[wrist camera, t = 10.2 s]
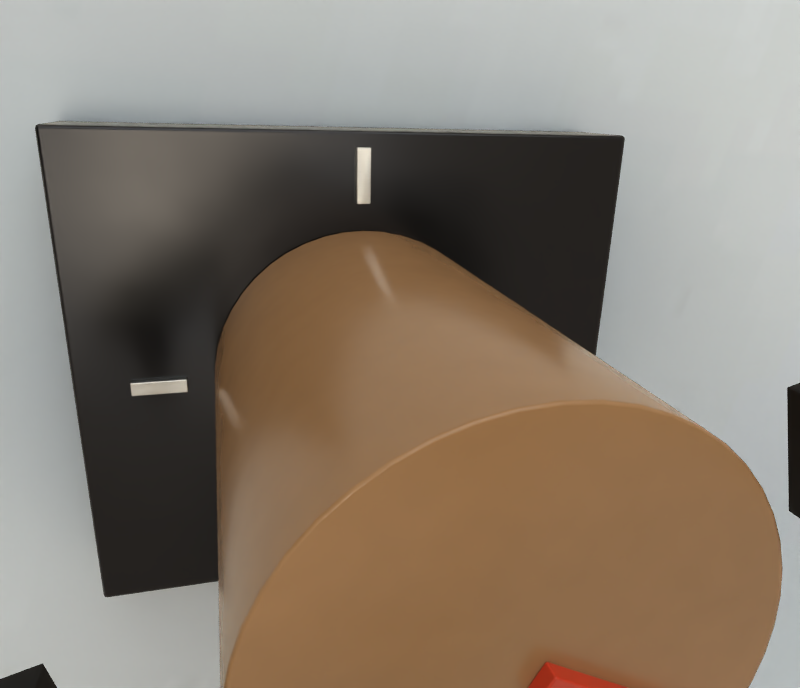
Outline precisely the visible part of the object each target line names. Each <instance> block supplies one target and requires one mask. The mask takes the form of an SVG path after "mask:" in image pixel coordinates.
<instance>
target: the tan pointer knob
mask: <svg viewBox="0 0 800 688" xmlns="http://www.w3.org/2000/svg"><path fill="white" fill-rule="evenodd" d="M215 413H216V470H217V526H218V583H219V639H220V688H748V687H749V685H750V684H751V682H752V680H753V678H754V676H755V674H756V672H757V670H758V667H759V665H760V663H761V661H762V659H763V656H764V654H765V652H766V649H767V646H768V643H769V640H770V637H771V634H772V631H773V628H774V625H775V620H776V616H777V611H778V606H779V601H780V595H781V581H782V557H781V544H780V538H779V534H778V529H777V525H776V521H775V517H774V514H773V511H772V509H771V507H770V504H769V502H768V500H767V497H766V495H765V493H764V491H763V488H762V487H761V485H760V484H759V482H758V481H757V479H756V478H755V476H754V475H753V473H752V472H751V470H750V469H749V467H748V466H747V464H746V463H745V462H744V461H743V460H742V459H741V458H740V457H739V456H738V455H737V454H736V453H735V452H734V451H733V450H732V449H731V448H730V447H729V446H728V445H727V444H726V443H724V442H723V441H722V440H720V439H719V438H717V437H716V436H714V435H713V434H711V433H710V432H709V431H707V430H706V429H704V428H703V427H701V426H700V425H698V424H697V423H695V422H694V421H692V420H691V419H689V418H688V417H686V416H685V415H683V414H682V413H680V412H679V411H677V410H676V409H674V408H673V407H671V406H670V405H668V404H667V403H665V402H664V401H662V400H661V399H659V398H658V397H656V396H655V395H653V394H652V393H650V392H649V391H647V390H646V389H644V388H643V387H641V386H640V385H638V384H637V383H635V382H634V381H632V380H631V379H629V378H628V377H626V376H625V375H623V374H622V373H620V372H619V371H617V370H616V369H614V368H613V367H611V366H610V365H608V364H607V363H605V362H604V361H602V360H601V359H599V358H598V357H596V356H595V355H593V354H592V353H590V352H589V351H587V350H586V349H584V348H583V347H581V346H580V345H578V344H577V343H575V342H574V341H572V340H571V339H569V338H568V337H566V336H565V335H563V334H562V333H560V332H559V331H557V330H556V329H554V328H553V327H551V326H550V325H548V324H547V323H545V322H544V321H542V320H541V319H539V318H538V317H536V316H535V315H533V314H532V313H530V312H529V311H527V310H526V309H524V308H523V307H521V306H520V305H518V304H517V303H515V302H514V301H512V300H511V299H509V298H508V297H506V296H505V295H503V294H502V293H500V292H499V291H497V290H496V289H494V288H493V287H491V286H490V285H488V284H487V283H485V282H484V281H482V280H481V279H479V278H478V277H476V276H475V275H473V274H471V273H470V272H468V271H467V270H465V269H464V268H462V267H461V266H459V265H458V264H456V263H455V262H453V261H452V260H450V259H449V258H447V257H446V256H444V255H443V254H441V253H440V252H438V251H437V250H435V249H434V248H432V247H430V246H428V245H426V244H424V243H422V242H420V241H417V240H414V239H411V238H408V237H405V236H402V235H397V234H392V233H386V232H377V231H355V232H344V233H339V234H334V235H330V236H325V237H322V238H319V239H317V240H314V241H311V242H308V243H305V244H303V245H301V246H299V247H298V248H296V249H294V250H292V251H290V252H288V253H286V254H285V255H283V256H282V257H280V258H279V259H277V260H276V261H275V262H273V263H272V264H270V265H269V266H268V267H267V268H266V269H265V270H264V271H263V272H261V273H260V274H259V275H258V276H257V277H256V278H255V279H254V280H253V281H252V282H251V284H250V285H249V286H248V287H247V288H246V290H245V291H244V292H243V293H242V294H241V296H240V298H239V299H238V301H237V302H236V304H235V305H234V307H233V309H232V310H231V312H230V314H229V317H228V319H227V321H226V323H225V325H224V328H223V331H222V334H221V337H220V341H219V344H218V348H217V355H216V362H215Z"/></svg>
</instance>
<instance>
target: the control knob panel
mask: <svg viewBox="0 0 800 688" xmlns="http://www.w3.org/2000/svg"><path fill="white" fill-rule="evenodd" d="M35 131H36V138H37V145H38V152H39V159H40V165H41V172H42V179H43V186H44V192H45V199H46V206H47V213H48V220H49V226H50V233H51V240H52V247H53V254H54V260H55V267H56V274H57V281H58V287H59V294H60V301H61V308H62V315H63V321H64V328H65V335H66V342H67V349H68V355H69V362H70V369H71V376H72V383H73V389H74V396H75V403H76V410H77V416H78V423H79V430H80V437H81V444H82V450H83V457H84V464H85V471H86V478H87V484H88V491H89V498H90V505H91V511H92V518H93V525H94V532H95V539H96V545H97V552H98V559H99V566H100V573H101V579H102V586H103V593H104V596H105V597H112V596H119V595H126V594H133V593H140V592H146V591H153V590H160V589H167V588H174V587H181V586H188V585H195V584H202V583H209V582H215V581H218V526H217V470H216V413H215V362H216V355H217V348H218V344H219V341H220V337H221V334H222V331H223V328H224V325H225V323H226V321H227V319H228V317H229V314H230V312H231V310H232V309H233V307H234V305H235V304H236V302H237V301H238V299H239V298H240V296H241V294H242V293H243V292H244V291H245V290H246V288H247V287H248V286H249V285H250V284H251V282H252V281H253V280H254V279H255V278H256V277H257V276H258V275H259V274H260V273H261V272H263V271H264V270H265V269H266V268H267V267H268V266H269V265H270V264H272V263H273V262H275V261H276V260H277V259H279V258H280V257H282V256H283V255H285V254H286V253H288V252H290V251H292V250H294V249H296V248H298V247H299V246H301V245H303V244H305V243H308V242H311V241H314V240H317V239H319V238H322V237H325V236H330V235H334V234H339V233H344V232H355V231H377V232H386V233H392V234H397V235H402V236H405V237H408V238H411V239H414V240H417V241H420V242H422V243H424V244H426V245H428V246H430V247H432V248H434V249H435V250H437V251H438V252H440V253H441V254H443V255H444V256H446V257H447V258H449V259H450V260H452V261H453V262H455V263H456V264H458V265H459V266H461V267H462V268H464V269H465V270H467V271H468V272H470V273H471V274H473V275H475V276H476V277H478V278H479V279H481V280H482V281H484V282H485V283H487V284H488V285H490V286H491V287H493V288H494V289H496V290H497V291H499V292H500V293H502V294H503V295H505V296H506V297H508V298H509V299H511V300H512V301H514V302H515V303H517V304H518V305H520V306H521V307H523V308H524V309H526V310H527V311H529V312H530V313H532V314H533V315H535V316H536V317H538V318H539V319H541V320H542V321H544V322H545V323H547V324H548V325H550V326H551V327H553V328H554V329H556V330H557V331H559V332H560V333H562V334H563V335H565V336H566V337H568V338H569V339H571V340H572V341H574V342H575V343H577V344H578V345H580V346H581V347H583V348H584V349H586V350H587V351H589V352H590V353H592V354H593V355H595V356H596V348H597V341H598V333H599V326H600V318H601V311H602V304H603V296H604V289H605V281H606V274H607V266H608V259H609V252H610V244H611V237H612V229H613V222H614V214H615V207H616V200H617V192H618V185H619V177H620V170H621V162H622V155H623V148H624V140H625V138H624V137H623V136H620V135H609V134H598V133H586V132H558V131H510V130H462V129H414V128H366V127H318V126H270V125H222V124H174V123H126V122H78V121H57V122H50V123H44V124H38V125H36V127H35Z"/></svg>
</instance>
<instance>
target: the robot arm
mask: <svg viewBox="0 0 800 688" xmlns="http://www.w3.org/2000/svg"><path fill="white" fill-rule="evenodd" d="M787 396H788V475H789V511H790V512H792V513H793V514H794V515H796V516H797V517H799V518H800V383H798V384H796V385H793V386H790V387H788V388H787ZM0 688H57V687H56V685H55V684H54V682H53V680H52V678H51V677H50V675H49V673H48V672H47V670H46V668H45V667H44V665H43V664H40V665H37V666H35V667H32V668H29V669H26V670H24V671H21V672H18V673H16V674H13V675H10V676H8V677H5V678H2V679H0Z"/></svg>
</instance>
